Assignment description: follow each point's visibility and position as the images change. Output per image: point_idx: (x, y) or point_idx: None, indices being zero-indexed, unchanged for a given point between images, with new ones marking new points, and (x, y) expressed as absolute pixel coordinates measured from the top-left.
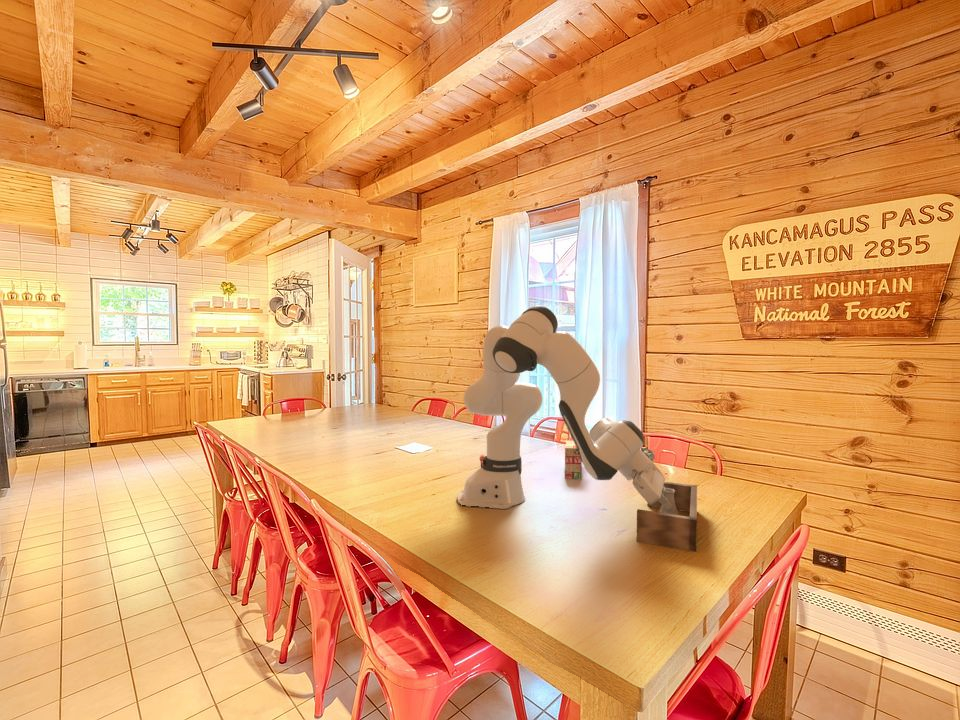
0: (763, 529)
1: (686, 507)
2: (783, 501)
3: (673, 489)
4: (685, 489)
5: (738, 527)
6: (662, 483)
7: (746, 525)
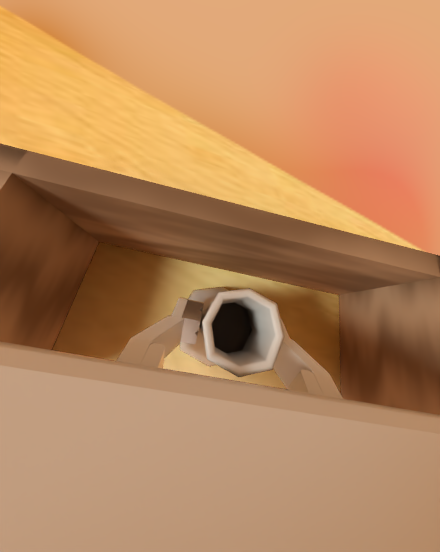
0: (193, 129)
1: (86, 247)
2: (4, 26)
3: (226, 295)
4: (20, 211)
5: (192, 166)
6: (172, 388)
7: (177, 148)
